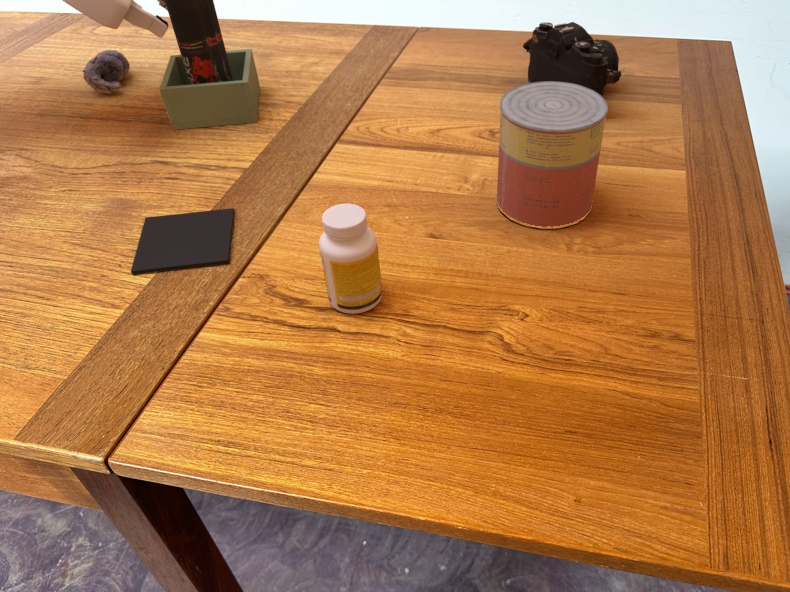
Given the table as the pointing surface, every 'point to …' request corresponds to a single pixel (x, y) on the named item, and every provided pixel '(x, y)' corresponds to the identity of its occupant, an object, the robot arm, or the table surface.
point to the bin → (212, 94)
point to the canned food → (549, 151)
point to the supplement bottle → (350, 259)
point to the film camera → (571, 57)
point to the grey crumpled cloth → (106, 71)
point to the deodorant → (199, 40)
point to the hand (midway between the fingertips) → (170, 18)
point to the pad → (184, 241)
